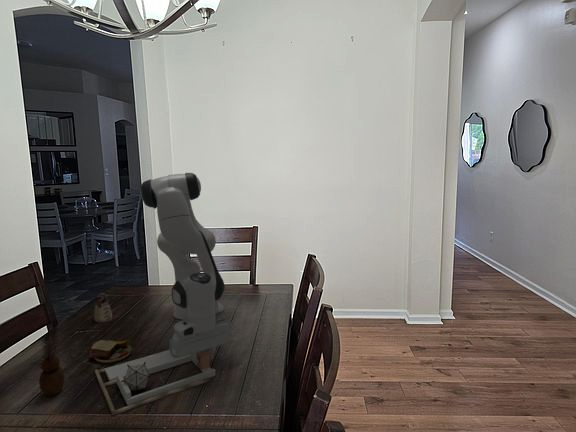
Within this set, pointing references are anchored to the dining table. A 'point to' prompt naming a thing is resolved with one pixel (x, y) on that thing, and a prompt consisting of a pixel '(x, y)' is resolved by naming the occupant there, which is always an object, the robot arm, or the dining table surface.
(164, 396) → the lane rails
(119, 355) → the toy sandwich meal
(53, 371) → the wooden figurine
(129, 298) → the dining table surface
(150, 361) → the inner strip
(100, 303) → the figurine
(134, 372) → the game die
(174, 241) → the robot arm
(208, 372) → the grey rectangular frame
